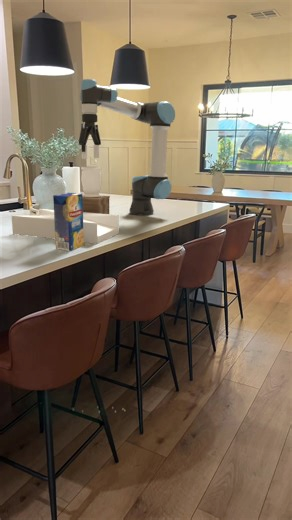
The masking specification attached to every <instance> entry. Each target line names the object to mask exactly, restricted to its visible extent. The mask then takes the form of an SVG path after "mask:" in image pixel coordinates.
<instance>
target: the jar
mask: <svg viewBox="0 0 292 520" xmlns="http://www.w3.org/2000/svg"><path fill="white" fill-rule="evenodd" d="M80 169H81V175H80V178H81V185H82V190H83V193H84V194H83V195H84V197H89V198H95V197H100V196H101V195H100V192H101V190H102V189H101V188H102V182H103V181H102V178H103V177H102V172H101V170H102V167H101V166H81V167H80Z"/></svg>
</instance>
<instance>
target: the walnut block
mask: <svg viewBox="0 0 292 520" xmlns="http://www.w3.org/2000/svg"><path fill="white" fill-rule="evenodd" d="M82 197H83V212H86V213H98V214H110V197H111V196H109V195H100V197H95V198H89V197H84V194H82Z"/></svg>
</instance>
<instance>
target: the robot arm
mask: <svg viewBox="0 0 292 520" xmlns="http://www.w3.org/2000/svg"><path fill="white" fill-rule="evenodd" d="M79 98H80V99H79V100H80V101H81V107H80V108H81V113H82V114H81V121H82V123H80V125H81V127H80V133H79V139H78V145H80V146H81V147H80V148H81V151H80V152H81V160H88V144H87V142H88V139H89V137H90V136H91V139H92V141H93V159H100V146H101V145H102V142H101V137H100V132H99V125H98V124H96V123H98V107H100V108H102V109H106V110H109V111H112V112H116V113H119V114H121V115H124V116H125V115H126V116H128V117H130V118H131V119H132V120H135V121H138V122H141V123H144V124H148V125H149V127H150V129H151V130H152V133H151V135H152V138H151V156H150V157H151V160H150V161H151V163H150V173H149V174H147V175H140V176H139V175H138V176H133V178H132V181H131V190H132V192H131V194H132V198H131V200H132V201H131V203H130V207H129V215H134V216H150V215H153V214H154V206H153V204H152V199H155V200H165V199H167V198H168V197H169V195H171V192H172V183H171V181H170V180H168V179H169V176H168V174H167V173H166V168H167V152H168V151H167V148H168V147H167V145H168V130H169V129H171V124H172V123H173V122H174V121H175V119H176V110H175V108H174V106H173V104H172V103H170V102H169V101H155V102H138V101H134V102H133V101H130V100H127V99H124V98H122V97H119V96H118V90H117V88H115V87H113V86H108V85H99V84H98V83H97V80H96V79H92V78H84V79H82V80H81V82H80V93H79Z"/></svg>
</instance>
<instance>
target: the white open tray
mask: <svg viewBox="0 0 292 520" xmlns="http://www.w3.org/2000/svg"><path fill="white" fill-rule="evenodd" d="M38 210H39V215H11V226H12V227H11V228H12V235H15V234H19V235H18V236H24V235H28V236H27V237H33V236H37V237H36V238H42V237H46V238H45V239H51V238H55V221H54V209H46V208H39V209H38ZM119 219H120V217H119V214H110V213H109V214H98V213H86V212H83V232H84V243H88V242H89V243H90V244H100V243H102V242H104V241H106V240H108V239H111V238H112V237H115V236H116V235H119V234H120V233H119V231H120V229H119V227H120V226H119V224H120V223H119V222H120V220H119Z"/></svg>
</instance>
